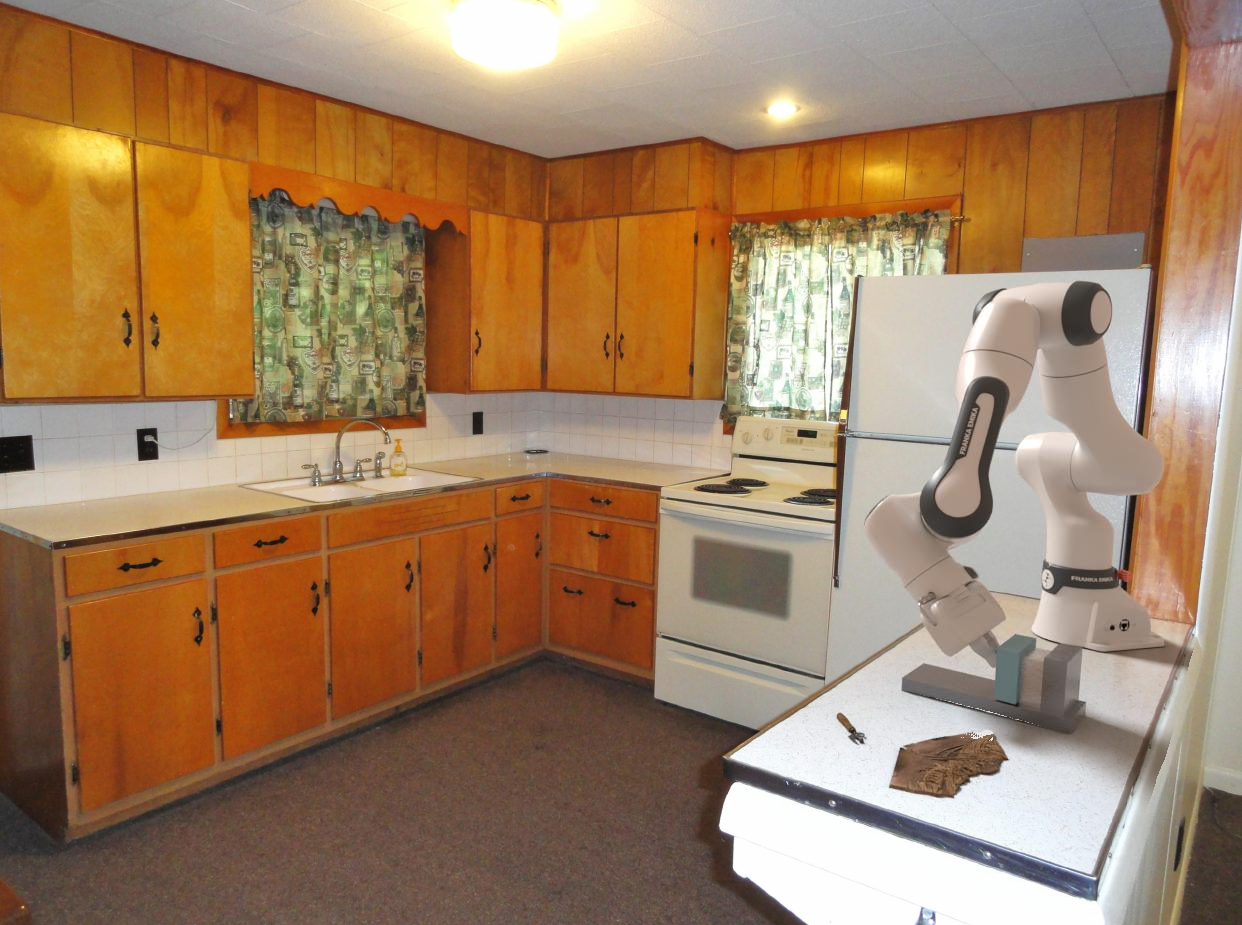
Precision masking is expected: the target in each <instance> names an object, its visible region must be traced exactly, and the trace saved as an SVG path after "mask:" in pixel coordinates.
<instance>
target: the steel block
mask: <svg viewBox="0 0 1242 925" xmlns="http://www.w3.org/2000/svg"><path fill="white" fill-rule="evenodd" d="M1051 651H1052V650H1050V649H1045V648H1040V647H1037V646H1036V647H1033V648H1031V649H1030V650H1029V651H1028V652H1027V653H1026V654H1024V655H1023V656H1022V660H1021V674H1020V689H1019V704H1023V705H1027V706H1031V707H1035V708H1038V709H1040V705H1041V691H1042V677H1043V663H1044V657H1045V656H1047V655H1048V654H1049V653H1050V652H1051Z"/></svg>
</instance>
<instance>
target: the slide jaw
mask: <svg viewBox="0 0 1242 925" xmlns="http://www.w3.org/2000/svg"><path fill="white" fill-rule="evenodd" d="M1033 647H1036V648H1037V638H1036V637H1032V636H1027V635H1021V634H1018V633H1014V634H1013V635H1012V636H1011V637H1010V638H1007V640H1005V641H1004V642H1002V643H1001V645H1000V644H999V647H998V648H997V658H996V667H995V672H994V673H995V676H994V680H995V688H994V699H996V700H1000V701H1004V702H1008V703H1012V704H1017V703H1018V702H1019V689H1020V674H1021V660H1022V656H1023V655H1024V654H1026V653H1027V652H1028V651H1029V650H1030V649H1031V648H1033Z"/></svg>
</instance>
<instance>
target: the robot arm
mask: <svg viewBox="0 0 1242 925" xmlns="http://www.w3.org/2000/svg"><path fill="white" fill-rule="evenodd" d="M1112 302H1113V301H1112V299H1111V295H1110V293H1109V291H1107V290H1106V289H1105V288H1104V287H1103V286H1102V285H1101V284H1100V283H1098V282H1094V281H1087V280H1086V281H1085V280H1076V281H1074V282H1069V281H1067V282H1066V281H1052V282H1051V281H1049V282H1038V283H1035V284H1029V285H1022V286H1016V287H1011V288H1004V287H1002V288H999V289H995V290H992V291H989V292H987V293H984V295H983V296H982V297H981V298H980V299H979V300H978V302H977V303H976V304H975V307H974V309H973V312H972V319H971V320H972V322H971V323H972V327H971V330H970V332H969V334H968V336H967V339H966V342H965V345H964V348H963V351H962V354H961V356H960V357H961V358H960V360H959V365H958V368H957V369H958V370H957V374H956V381H955V394H954V397H955V400H956V401H957V404H958V413H957V414H958V415H957V420H956V424H955V426H954V429H953V433H952V437H951V440H950V443H949V446H948V449H947V452H946V456H945V459H944V461H943V463H942V464H941V466H940V467H939V468H938V469H937V470H936V471H935V473H934V474H933V475H932V476H931V477H930V478H929V479H928V481H927V482H926V483H925V484H924V486H923V488H922V490H921V491H919V492H913V493H905V494H894V493H891V494H889V495H886V496H885V497H883V498H882V499H880V500H879V501H878V502H877V503H876V504H875V505H874V506H873V507H872V508H871V509H870V511H869V513H868V514H867V515H866V517H865V520H864V524H863V531H864V534H865V536H866V538H867V540H868V542H869V543H870V545H871V546H872V548H873V549H874V551H875V552H876V554H877V555H878V556H879V558H880V559H881V560H882V561H883V563H884V564H885V566H886V567H887V568H889V569H890V570H891V571H893V572H894V573H895V574H896V576H897V577H898V578H899V582H901V586H902V587H903V589H904V590H905V591H906V593H907V595H909V597H911V599H912V600H913V601H914V603H915V604H916V606H917V607H918V610H919V612H920V615H919V616H920V620H921V622H922V625H923V626H924V627H925V630H926V631H927V632H928V634H929V635H930V637H931V639H932V640H933V641H934V642H935V644H936V645H937V647H938V648H939V649H940V651H941V652H942V653H943V654H945V655H946V656H947V657H949V658H951V657H953V656H954V655H956V654H958V653H959V652H961V651H962V650H963V649H965V648H967V647H968V646H969V647H970V648H971V650H972V651H973V652H974V653H976V654H977V655H978V656H979V657H981V658H982V659H984V660H985V661H986V662H987V663H988V665H989V666H990V667H991V668H992V669H994V668H995V669H996V658H997V648H998V647H999V646H1000V643H999V641H998V639H997V636H996V635H995V634H994V633H993V631H992V630H993V629H995V628H996V627H998V626H1000V624H1002V623H1004V622H1005V621H1006V620H1007V617H1006V614H1005V611H1004V609H1003V608H1002V607H1001V604H999V602H998V600H996V598H995V597H994V595H993V594H992V593H991V591H990V590H989V589H988V588H987V586H985V585H984V583H982V582H981V581H980V580H978V579H980V574H979V573H978V571H977V570H976V569H975V568H973V567H972V566H969V565H964V564H962V563H960V562H957V561H956V560H955V559H954V558H953V556H952V555H951V554H950V553H949V550H952V549H955V548H957V547H959V546H962V545H966V544H967V543H970V542H972V541H973V540H975V538H977V537H978V536H979V534H980V533H981V531H982V529H983V528H984V527H985V526H986V525H987V523H988V522H989V520H990V519H991V517H992V513H993V510H994V509H993V508H994V497H993V492H992V487H991V481H990V470H991V468H990V467H991V464H992V461H993V457H994V455H995V454H994V453H995V450H996V446H997V443H998V439H999V435H1000V433H1001V429H1002V427H1003V425H1004V422H1005V420H1006V419H1007V417H1009V415H1011V414H1012V413H1013V412H1015V411H1016V410H1017V409H1018V407H1019V406H1020V403H1021V401H1022V400H1023V398H1024V395H1025V393H1026V391H1027V389H1028V387H1029V384H1030V381H1031V378H1032V375H1033V371H1034V367H1035V363H1036V364H1037V370H1038V378H1039V384H1040V389H1041V390H1040V392H1041V397H1042V403H1043V407H1044V410H1045V412H1046V413H1047V414H1048V415H1049V416H1050V417H1051V418H1052V419H1054V420H1055V421H1057V422H1058V423H1060V424H1062V425H1064V426H1065V427H1066V428H1067V429H1068V430H1069V431H1070V432H1069V431H1056V430H1055V431H1054V430H1053V431H1046V432H1045V431H1044V432H1036V433H1031V434H1028V435H1027V436H1025V437H1024V438H1023V439H1022V440H1021V442H1020V443H1019V444H1018V446H1017V448H1016V452H1015V456H1014V464H1015V467H1016V470H1017V472H1018V475H1019V476H1020V477H1021V479H1022V480H1023V481H1025V482H1026V483H1027V484H1028V485H1029V486H1030V487H1031V489H1032V490H1033V491H1034V492H1035V494H1036V495H1037V497H1038V500H1039V501H1040V503H1041V505H1042V506H1041V507H1042V509H1043V512H1044V516H1045V521H1046V547H1045V548H1046V550H1045V559H1043V561H1042V567H1041V568H1042V569H1041V570H1042V572H1041V590H1042V591H1041V596H1040V600H1039V604H1038V609H1037V612H1036V616H1035V618H1034V622H1033V624H1032V626H1031V632H1032V633H1033V634H1034V635H1036V636H1038V637H1041V638H1043V639H1047V640H1049V641H1052V642H1055V643H1058V644H1060V643H1063V644H1068V645H1073V646H1078V647H1083V648H1086V649H1090V650H1094V651H1096V652H1097V651H1098V652H1114V651H1126V650H1137V649H1147V648H1157V647H1158V648H1159V647H1164V646H1165V645H1166V644H1165V639H1164V638H1163V637H1162V636H1160V635H1159V634H1158V633H1156V632H1154V631H1153V630H1152V624H1151V618H1150V613H1149V611H1148V609H1147V608H1146V607H1145V606H1144V605H1143V604H1142V603H1141V602H1139V601H1138V600H1136V599H1135V598H1134V597H1133V596H1132V595H1130V594H1129V593H1128V592H1127V591H1126V590H1124V589H1123V587H1121V586H1120V582H1119V580H1121V581H1123V582H1126V583H1128V582H1131V581H1132V579H1133V577H1134V576H1133V573H1132V572H1131V571H1129V570H1126V569H1122V568H1121V569H1118V568H1116V567H1114V566H1113V553H1114V540H1115V530H1114V527H1113V525H1112V522H1111V521H1110V520H1109V519H1108V518H1107V517H1106V516H1104V515H1103V514H1101V513H1100V512H1099V511H1097V510H1096V509H1095V508H1094V507H1093V506H1092V505H1091V502H1090V501H1089V499H1088V496H1087V493H1093V494H1100V495H1110V496H1116V497H1121V496H1137V495H1139V496H1140V495H1147V494H1149V493H1150V492H1152V491H1153V490H1154V489H1155V488H1156V487H1157V486H1158V485H1159V483H1160V482H1161V480H1162V478H1163V476H1164V472H1165V459H1164V456H1163V454H1162V452H1161V450H1160V449H1159V447H1158V446H1157V445H1156V444H1155V443H1154V442H1153V441H1150V440H1149V439H1147V438H1146V437H1144V436H1143V435H1141V434H1140V433H1139V432H1138V431H1136V430H1135V428H1133V427H1132V426H1131V425H1130V423H1129V422H1128V421H1127V419H1125V417H1124V415H1123V414H1122V413H1121V411H1120V409H1119V408H1118V406H1117V403H1116V400H1115V397H1114V394H1113V388H1112V383H1111V379H1110V372H1109V365H1108V364H1109V363H1108V358H1107V356H1108V355H1107V350H1106V346H1105V342H1104V338H1103V336H1105V334H1106V333H1107V332H1108V330H1109V328H1110V325H1111V323H1112V320H1113V319H1112V318H1113V304H1112Z"/></svg>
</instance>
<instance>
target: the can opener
mask: <svg viewBox="0 0 1242 925" xmlns="http://www.w3.org/2000/svg"><path fill="white" fill-rule="evenodd" d="M836 719H837V720H838V722H839V723H840V724H841V725H842V726H843V727H844V728H845V729H846V730H847V732H848V733H850V734H849V735H848V736H847V737H848V739H849V740H850V741H851V742H852V743H853V744H855V745H857V746H860V744H865V741H864V737H865V733H863V732H860V731H859V732H857V730H856V728H855V726H854V725H852V723H851V721H850V720H849V718H847V717H846V716H845V714H843V713H842V712H838V713H837V714H836ZM860 735H861V736H860ZM856 740H857V741H859V743H860V744H859V743H858V742H857V741H856Z"/></svg>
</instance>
